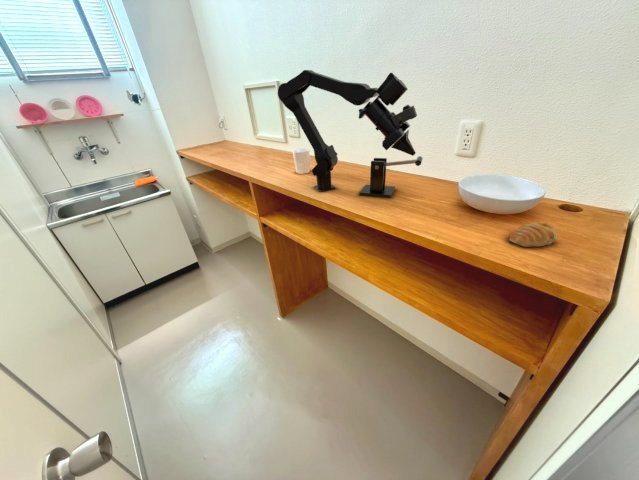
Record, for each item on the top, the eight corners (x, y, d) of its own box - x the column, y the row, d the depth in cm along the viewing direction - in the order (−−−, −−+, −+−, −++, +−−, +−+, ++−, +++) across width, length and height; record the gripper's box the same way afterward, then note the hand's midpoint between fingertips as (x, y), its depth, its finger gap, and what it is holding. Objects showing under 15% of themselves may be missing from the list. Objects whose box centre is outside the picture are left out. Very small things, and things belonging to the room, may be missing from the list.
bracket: (394, 189, 94) (397, 157, 88) (390, 198, 87) (393, 163, 81) (365, 187, 98) (366, 156, 92) (359, 195, 91) (359, 162, 85)
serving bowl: (451, 216, 72) (456, 193, 69) (456, 191, 88) (460, 171, 84) (543, 228, 63) (554, 203, 60) (530, 198, 79) (538, 176, 75)
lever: (422, 162, 83) (422, 155, 82) (421, 166, 79) (421, 158, 78) (376, 166, 90) (375, 160, 89) (373, 170, 86) (372, 163, 85)
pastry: (527, 252, 55) (533, 237, 54) (499, 238, 61) (504, 224, 59) (557, 243, 58) (565, 228, 56) (528, 230, 63) (533, 216, 61)
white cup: (297, 169, 126) (294, 149, 121) (312, 169, 125) (310, 148, 119) (293, 174, 119) (290, 152, 114) (309, 174, 118) (307, 152, 113)
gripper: (396, 97, 67) (435, 141, 69) (406, 94, 81) (437, 130, 83) (367, 130, 74) (402, 169, 76) (380, 121, 88) (410, 154, 90)
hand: (414, 154), depth 81 cm, fingers closed
